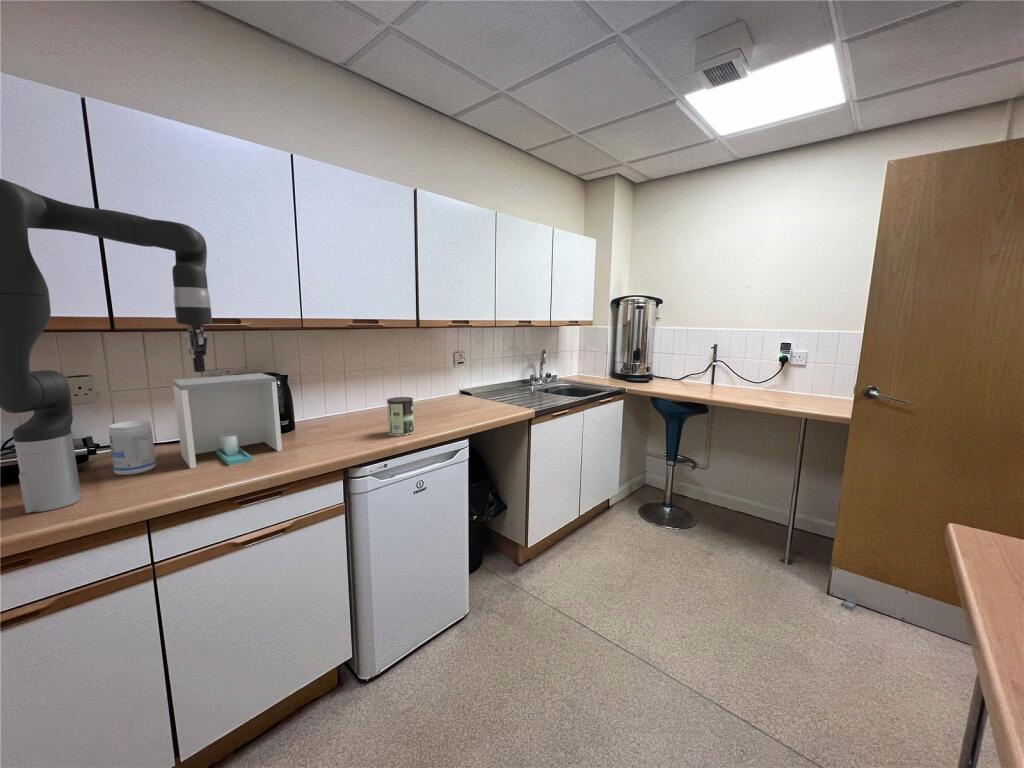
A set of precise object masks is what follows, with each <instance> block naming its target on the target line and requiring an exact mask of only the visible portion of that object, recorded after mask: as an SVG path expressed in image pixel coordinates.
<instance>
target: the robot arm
mask: <svg viewBox="0 0 1024 768" xmlns="http://www.w3.org/2000/svg"><path fill="white" fill-rule="evenodd" d="M28 229H37V230H38V229H39V230H56V231H66V232H73V233H76V234H77V233H79V234H85V235H88V236H91V237H92V236H93V237H97V238H102V239H104V240H105V239H106V240H111V241H115V242H118V243H119V242H121V243H125V244H129V245H136V246H139V247H146V248H149V247H150V248H151V247H155V248H160V249H164V250H169V251H173V252H174V254H175V258H174V259H175V264H174V265H173V266H172V270H171V271H172V284H173V304H174V312H175V314H174V315H175V322H176V323H177V325H187V331H184V334H185V335H184V336H185V339H186V342H187V348H188V351H189V355H190V357H191V358H192V367H193V372H195V373H204V372H206V367H205V357H206V355H207V344H208V338H207V332H206V331H204V328H203V325H211V324H213V317H212V308H211V307H212V306H211V298H210V294H209V289H208V288H209V287H208V277H207V259H208V258H207V257H208V247H207V242H206V240H205V238H204V236H203V234H201V233H200V232H199V231H197V230H196V229H195V228H193V227H192V226H190V225H188V224H184V223H181V222H175V221H171V220H170V221H169V220H163V219H162V220H161V219H152V218H148V217H145V216H141V215H136V214H131V213H127V212H121V211H116V210H111V209H104V208H95V207H87V206H80V205H75V204H70V203H66V202H63V201H60V200H56V199H54V198H51V197H47V196H46V195H42V194H39V193H36V192H34V191H32V190H31V189H29V188H26V187H24V186H21V185H19V184H16V183H13V182H12V181H8V180H6V179H2V178H0V408H1V410H3V411H4V412H7V413H10V414H21V413H28V412H33V415H31V417H30V418H29V419H28V420H27V421H25V422H24V423H22V424H20V425H18V426H17V427H15V428H14V429H13V430H12V437H13V441H14V446H15V448H14V449H15V452H16V457H17V462H18V463H17V464H18V468H19V469H18V470H19V474H18V479H19V485H20V486H19V487H20V489H21V490H20V491H21V496H22V500H23V501H22V502H23V506H24V512H25V514H30V513H37V512H46V511H47V512H48V511H52V510H57V509H60V508H64V507H67V506H70V505H73V504H75V503H78V502H79V501H81V500H82V490H81V487H80V479H79V474H78V467H77V466H78V465H77V462H76V461H77V460H76V455H75V449H74V443H73V436H72V429H71V427H72V424H73V420H74V417H73V416H74V415H73V404H72V393H71V388H70V384H69V382H68V380H67V378H66V377H65V376H64V375H62V373H60V372H59V371H56V370H52V369H45V370H33V371H31V369H30V359H31V358H30V357H31V353H32V349H33V347H34V345H35V343H36V342H37V341H38V339H39V338H40V336H41V334H42V333H43V332H44V330H45V329H46V328H47V326H48V323H49V322H50V319H51V313H52V311H51V302H50V301H51V299H50V292H49V287H48V284H47V282H46V280H45V277H44V275H43V274H42V271H41V270H40V268H39V267H38V265H37V263H36V260H35V258H34V257H33V254H32V252H31V249H30V245H29V244H30V243H29V230H28Z"/></svg>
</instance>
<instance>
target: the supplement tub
mask: <svg viewBox="0 0 1024 768" xmlns="http://www.w3.org/2000/svg"><path fill="white" fill-rule="evenodd" d="M108 429H109V430H108V436H109V443H110V444H109V446H110V452H111V459H112V460H111V461H112V468H113V472H114V473H115V474H116V475H119V476H124V475H125V476H126V475H127V476H128V475H137V474H140V473H141V474H142V473H145V472H148V471H151V470H153V469H154V468H155V467H156V454H155V448H154V447H155V446H154V445H155V444H154V439H153V438H154V436H153V428H152V425H151V421H149V420H128V421H122V422H117V423H113V424H110V425H109V426H108Z"/></svg>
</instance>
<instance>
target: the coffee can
mask: <svg viewBox="0 0 1024 768" xmlns="http://www.w3.org/2000/svg"><path fill="white" fill-rule="evenodd" d="M386 402H387V403H386V405H387V419H388V420H387V421H388V422H387V423H388V435H389V436H393V437H394V436H396V437H402V435H405V436H409V435H408V434H410V435H413V434H414V433H415V424H414V423H415V422H414V421H415V420H414V398H413V397H409V396H398V397H395V396H394V397H391V398H387V399H386ZM412 433H413V434H412Z"/></svg>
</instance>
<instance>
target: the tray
mask: <svg viewBox="0 0 1024 768" xmlns="http://www.w3.org/2000/svg"><path fill="white" fill-rule="evenodd" d="M220 442H221V449H216V451H215V454H216V455H217V456H218V457H219V458H220V459H221V460H222V461H223V462H224V463H225V464H226V465H227V466H228V467H229V466H234V465H239V464H244V463H249V462H253V457H252V455H251V454H249V453H248V452H247V451H245V450H244V449H242V448H241V446H238V436H237V434H234V432H233V431H228V432H222V433H220Z"/></svg>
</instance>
